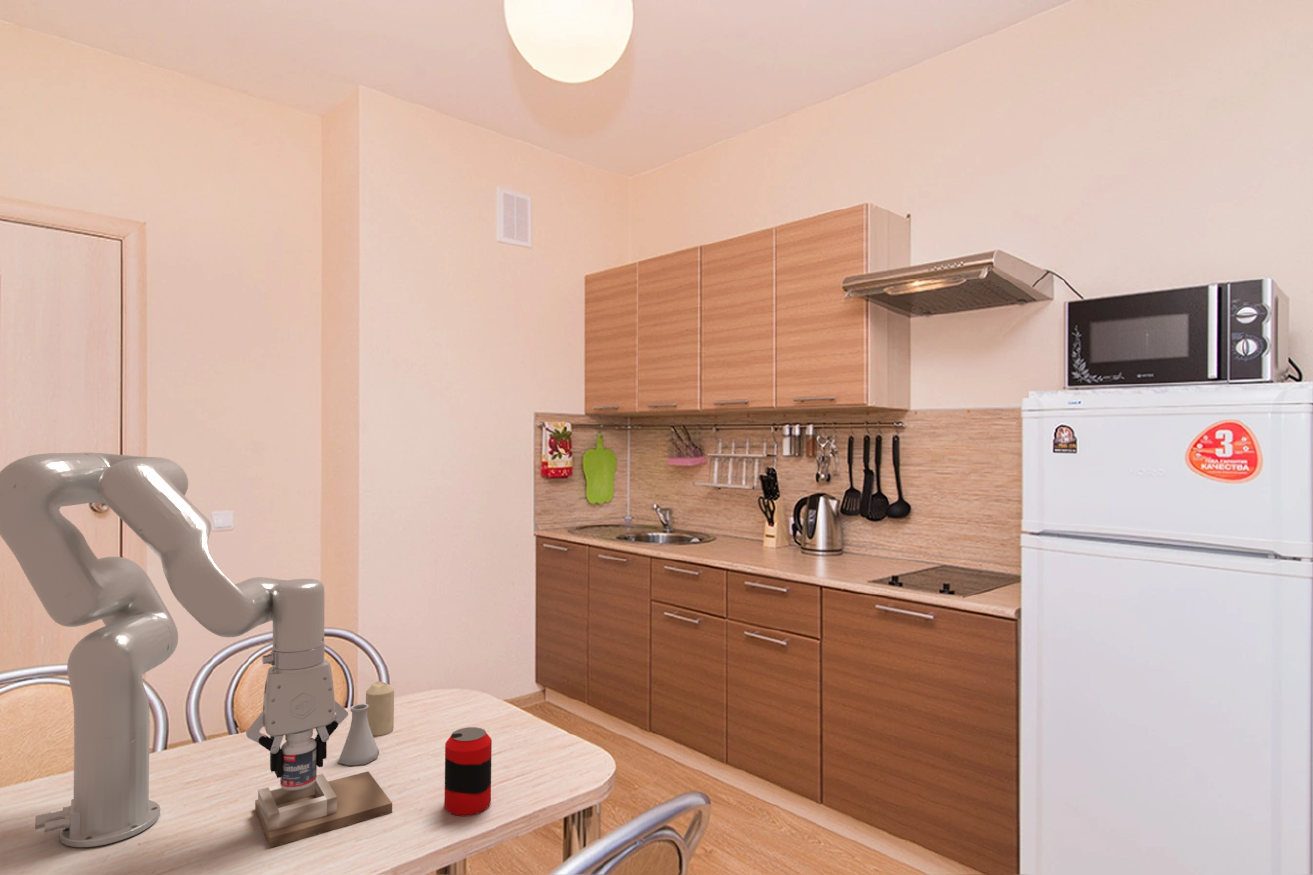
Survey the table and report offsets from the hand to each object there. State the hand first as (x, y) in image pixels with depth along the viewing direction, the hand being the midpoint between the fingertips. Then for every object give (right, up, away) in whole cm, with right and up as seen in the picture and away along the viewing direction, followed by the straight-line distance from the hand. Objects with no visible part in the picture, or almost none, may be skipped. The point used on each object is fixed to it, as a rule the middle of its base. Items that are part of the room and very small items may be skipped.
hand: (298, 767), depth 118 cm
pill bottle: (0, -3, 0) cm, 3 cm away
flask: (+1, -8, +22) cm, 24 cm away
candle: (0, -8, +35) cm, 36 cm away
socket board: (+3, -8, +2) cm, 9 cm away
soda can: (+26, -9, +5) cm, 28 cm away
